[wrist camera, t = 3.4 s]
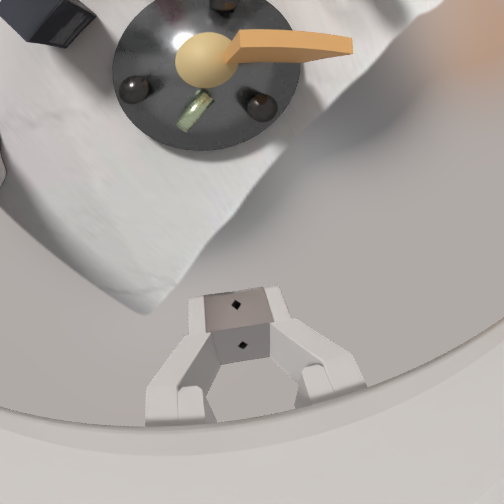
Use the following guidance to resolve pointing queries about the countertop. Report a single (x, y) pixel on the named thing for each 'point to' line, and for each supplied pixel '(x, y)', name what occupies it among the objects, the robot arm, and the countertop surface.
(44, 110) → the countertop surface
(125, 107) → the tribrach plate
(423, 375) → the robot arm
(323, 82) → the countertop surface
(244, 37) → the tan slab with dome
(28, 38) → the small box
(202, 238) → the countertop surface
